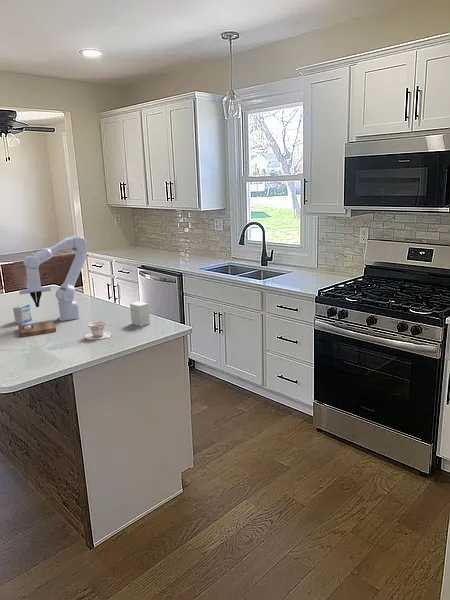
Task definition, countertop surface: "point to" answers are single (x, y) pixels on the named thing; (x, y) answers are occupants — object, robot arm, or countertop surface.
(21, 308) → the medicine box
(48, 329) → the hole plate
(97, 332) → the teacup
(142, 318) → the small box
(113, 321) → the countertop surface
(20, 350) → the countertop surface
